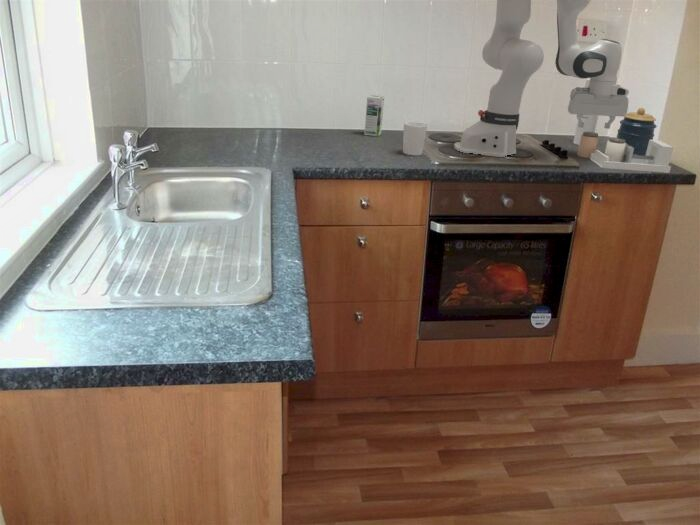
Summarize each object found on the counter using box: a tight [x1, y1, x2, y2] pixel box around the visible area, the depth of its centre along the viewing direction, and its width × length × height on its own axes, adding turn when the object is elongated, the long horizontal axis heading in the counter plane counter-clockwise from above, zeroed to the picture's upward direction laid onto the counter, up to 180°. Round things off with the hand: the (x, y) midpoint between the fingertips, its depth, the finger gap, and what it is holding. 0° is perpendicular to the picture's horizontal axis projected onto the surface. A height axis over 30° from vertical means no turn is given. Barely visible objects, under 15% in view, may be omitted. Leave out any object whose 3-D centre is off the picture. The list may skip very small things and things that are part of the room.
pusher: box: [622, 144, 654, 163], centre depth 222 cm, size 10×10×7 cm
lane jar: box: [604, 136, 626, 162], centre depth 222 cm, size 6×6×9 cm
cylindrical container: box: [572, 78, 599, 146], centre depth 252 cm, size 7×7×25 cm
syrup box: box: [363, 94, 385, 137], centre depth 242 cm, size 6×6×14 cm
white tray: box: [589, 139, 674, 174], centre depth 222 cm, size 23×13×9 cm, turn 89°
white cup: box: [402, 121, 428, 156], centre depth 218 cm, size 8×8×10 cm
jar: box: [577, 132, 600, 159], centre depth 232 cm, size 6×6×9 cm
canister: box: [616, 107, 658, 155], centre depth 241 cm, size 13×13×18 cm
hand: (593, 127), depth 230 cm, fingers open, 8 cm apart
